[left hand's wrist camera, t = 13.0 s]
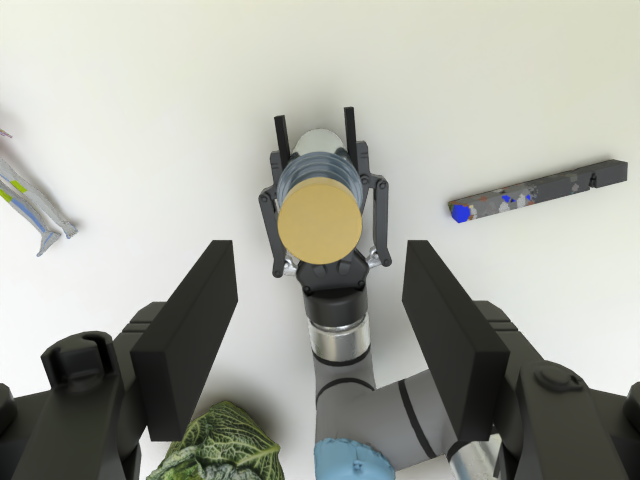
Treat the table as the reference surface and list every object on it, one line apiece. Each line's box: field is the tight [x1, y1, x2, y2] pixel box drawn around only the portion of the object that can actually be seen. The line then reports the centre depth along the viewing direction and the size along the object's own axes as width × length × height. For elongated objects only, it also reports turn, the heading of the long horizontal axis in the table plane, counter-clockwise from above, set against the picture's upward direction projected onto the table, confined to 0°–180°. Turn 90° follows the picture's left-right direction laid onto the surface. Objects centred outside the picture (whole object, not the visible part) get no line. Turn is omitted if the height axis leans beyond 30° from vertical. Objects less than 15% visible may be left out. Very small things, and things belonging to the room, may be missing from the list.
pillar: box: [448, 159, 628, 223], centre depth 44 cm, size 2×2×20 cm
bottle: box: [277, 128, 363, 210], centre depth 31 cm, size 6×6×25 cm
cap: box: [278, 177, 362, 264], centre depth 20 cm, size 5×5×2 cm
